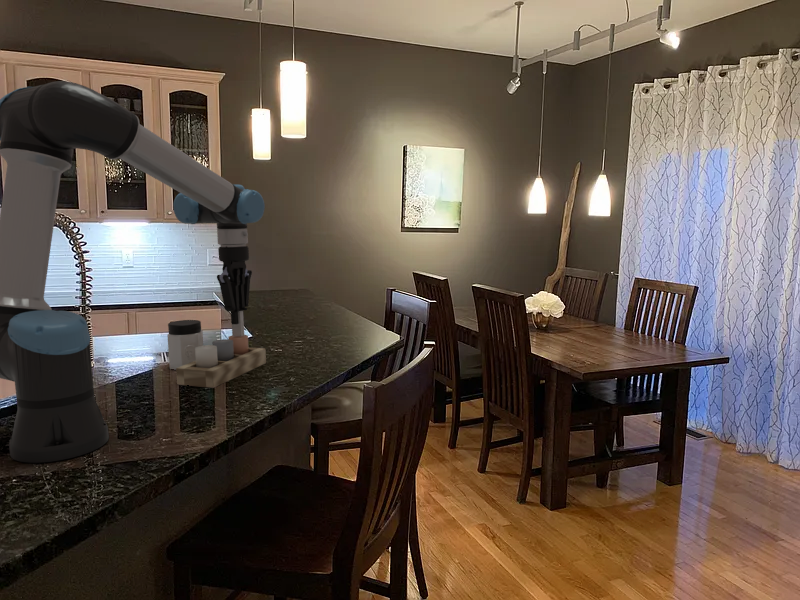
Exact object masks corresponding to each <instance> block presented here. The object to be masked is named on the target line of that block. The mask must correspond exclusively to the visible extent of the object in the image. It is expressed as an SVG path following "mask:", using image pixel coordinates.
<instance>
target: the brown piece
mask: <svg viewBox="0 0 800 600" xmlns="http://www.w3.org/2000/svg"><path fill="white" fill-rule="evenodd" d="M228 339H229V340H233V349H234V354H238V355H244V354H246V353H248V352H249V335H248V334H244V336H232V335H230V336H229V335H228Z"/></svg>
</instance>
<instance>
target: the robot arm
mask: <svg viewBox="0 0 800 600" xmlns="http://www.w3.org/2000/svg"><path fill="white" fill-rule="evenodd" d="M140 123H141V122H140V119H139V116H137V115H136V114H135V113H134V112H132V111H130V110H129V109H127V108H126V107H124V106H123V105H121V104H120V103H118V102H116V101H115V100H114V99H111V98H110V97H107V96H105V95H104V94H102V93H100V92H98V91H96V90H94V89H93V88H90V87H87V86H85V85H82V84H79V83H77V82H71V81H66V80H57V81H52V82H47V83H45V84H40V85H36V86H23V87H19V88H17V89H14V90H12V91H10V92H8V93H7V94H5V95H3V96H2V97H1V98H0V157H2V158H3V160H4V161H5V162H6V164H7V165H6V171H5V178H4V187H3V193H2V199H1V208H0V380H1V379H2V380H6V381H11V382H14V387H15V389H14V390H15V399H16V405H17V411H16V416H15V419H14V425H13V429H12V435H11V436H10V438H9V442H8V447H9V456H10V458H11V459H13V460H14V461H18V462H21V463H31V464H33V463H34V464H38V463H50V462H51V463H52V462H58V461H63V460H68V459H69V460H70V459H73V458H77V457H80V456H83V455H86V454H89V453H91V452H94V451H96V450H98V449H100V448H101V447H103V446H104V445H106V444H107V443H108V441H109V439H110V437H109V435H110V434H109V425H108V424H107V421H106V420H104V416H103V415H102V412H101V409H100V407H99V405H98V403H97V401H96V398H95V391H94V380H93V379H94V378H93V377H94V376H93V368H92V354H91V336H90V335H91V334H90V332H89V327H88V322H87V320H86V319H85V317H83V316H82V315H81V314H79V313H76V312H73V311H67V310H55V309H52V307H51V306H50V305H49V304H48V302H46V299H45V290H46V284H47V276H48V270H49V269H48V268H49V261H50V256H51V255H50V254H51V246H52V241H53V233H54V227H55V225H54V224H55V219H56V211H57V204H58V198H59V197H58V196H59V191H60V190H59V189H60V183H61V177H62V174H63V173H64V172H66V171H68V170H69V169H71V168H72V163H73V157H74V156H73V154H74V150H77V149H80V150H86V151H90V152H93V153H96V154H97V153H98V154H99V155H102V156H103V157H105V158H107V159H109V160H117V159H120V160H122V162H123V161H124V162H125V163H127V164H129V165H130V166H132V167H133V168H136V169H137V170H139V171H141V172H143V173H145V174H146V175H149V177H152V178H153V179H155V180H157V181H159V182H161V183H162V184H164V185H165V186H168V187H169V188H171V189H173V190H175V191H177V192H178V194H177V195H176V196H175V198H174V200H173V204H172V205H173V213H174V216H175V217H176V219H177V220H178V221H179V222H180V223H181V224H190V225H196V224H197V225H198V224H216V230H217V231H216V233H217V235H216V236H217V237H216V238H217V245H219V247H218V250H217V251H218V260H219V261H220V262H221V263H222V273H220V274H217V276H216V280H217V282H218V283H219V287H220V292H221V296H222V302H223V307H224V310H225V311H226V312H228V313H229V312H230V320H231V321H230V323H231V336H244V335H245V320H244V319H245V318H244V311H248V307H249V301H250V287H251V277H252V274H253V271H252V270H248V269H247V264H246V262H247V261H249V260H250V253H249V247H248V245H247V244H249V239H248V238H249V233H248V224H255V223H257V222H259V221H260V220H261V219H262V217H264V213H265V208H266V206H265V201H264V198H263V196H262V194H261V193H259V191H257V190H254V189H248V188H246V189H245V186H243V185H242V184H234V183H231V182H230V181H228V180H227V179H225V178H224V177H222V176H221V175H219V174H218V173H216V172H214V171H213V170H211V169H209V167H206V166H205V165H203V164H202V163H201V162H199V161H197V160H196V159H194V158H193V157H192V156H190V155H188V154H187V153H185V152H184V151H182V150H180V149H179V148H178V147H176V146H174V145H173V144H171V143H169V142H168V141H166V140H165V139H163V138H162V137H161V136H159V135H157V134H156V133H154V132H152V131H151V130H150V129H148V128H146V127H145V126H144V125H142V124H140Z"/></svg>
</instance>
